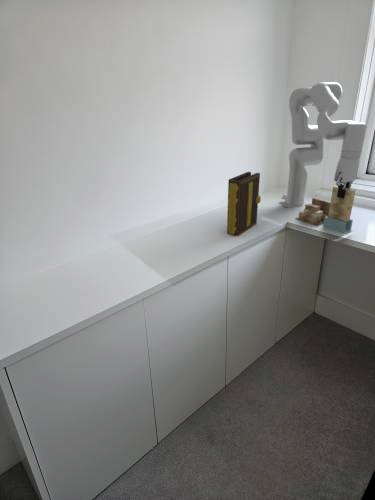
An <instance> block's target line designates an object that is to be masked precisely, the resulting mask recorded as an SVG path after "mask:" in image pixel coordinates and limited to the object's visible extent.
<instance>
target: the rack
mask: <svg viewBox="0 0 375 500" xmlns="http://www.w3.org/2000/svg"><path fill="white" fill-rule="evenodd" d="M330 203H331V201H327V200H322V199H320V198H315V197H312V199H311V203H306V205H305V206H304V209H303V210H301V211H299V212H298V217H295V218H294V220H296V221H300V222H302V223H305V224H309V225H312V226H316V227H319V226H321V225H322V226H323V224H324V218H325V217H326V216H327V217H329V216H328V214H329V209H330ZM330 218H331V217H330Z"/></svg>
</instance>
